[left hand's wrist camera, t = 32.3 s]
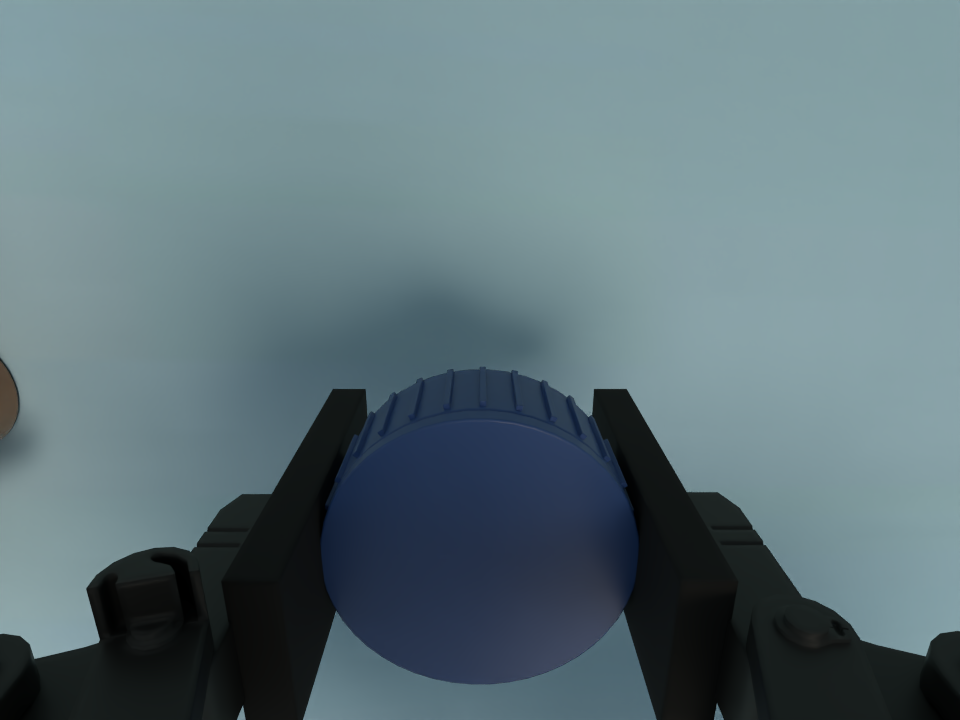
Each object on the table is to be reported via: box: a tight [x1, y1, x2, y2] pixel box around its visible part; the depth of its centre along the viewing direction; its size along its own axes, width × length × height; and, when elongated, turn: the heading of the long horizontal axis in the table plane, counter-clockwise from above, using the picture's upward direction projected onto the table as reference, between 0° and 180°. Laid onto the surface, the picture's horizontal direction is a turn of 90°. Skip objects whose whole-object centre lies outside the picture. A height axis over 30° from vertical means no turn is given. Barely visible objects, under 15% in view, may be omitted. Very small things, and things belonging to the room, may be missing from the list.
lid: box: [320, 367, 639, 684], centre depth 11 cm, size 6×6×2 cm
